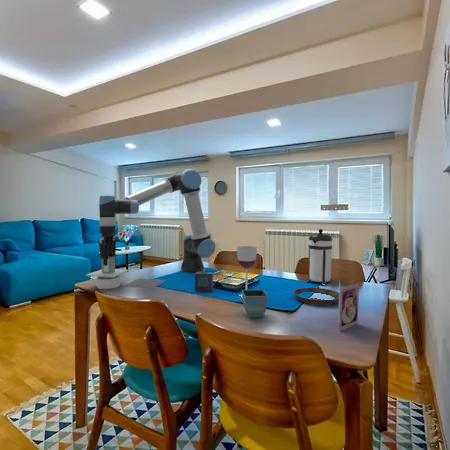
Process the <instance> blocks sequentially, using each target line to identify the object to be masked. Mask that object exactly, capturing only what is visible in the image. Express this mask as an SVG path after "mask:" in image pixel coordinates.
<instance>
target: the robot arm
mask: <svg viewBox="0 0 450 450" xmlns="http://www.w3.org/2000/svg"><path fill="white" fill-rule="evenodd" d="M201 184H202V177H201V175H200V173H199V172H198V171H197V170H196V169H193V168H192V169H191V168H187V169H183V170H179V171H177V172H175V173H173V174H171V175H169V176H167V177H165V178H163V180H162V181H160V182H157V183H155V184H153V185H151V186H148V187H146V188H143V189H141V190H139V191H137V192H134V193H132V194H129V195H128V196H125V197H123V198H120V199H116V196H115V195H109V194H107V195H106V194H105V195H104V194H103V195H100V196H99V200H98V201H99V202H98V207H99V209H98V210H99V211H98V212H99V234H101V238H100V239H98V240H97V242H98V247H99V257H100V259H103V263H104V264H103V265H104V272H109V259H108V256H111V257H115V258H116V253H117V252H116V250H117V239H118V237H116V236H115V235H114V234H115V233H116V226H115V225H116V214H117V215H119V214H121V215H122V214H123V215H125V214H126V215H130V214H131V215H134V214H138V213H139V210H140V206H141V205H143V204H146V203H148V202H150V201H152V200H154V199H157V198H160V197H161V196H163V195H166V194H168V193H170V194H172V193H174V192H177V191H180V194H181V195H182V196H183V197H184V201H185V205H186V210H187V215H188V219H189V223H190V228H191V232H192V234H191V235H184V236H183V259H182V262H181V265H180V271H182V272H184V273H196V272H198V271H199V272H202V271H203V269H205V265H204V262H203V259H204V258H205V259H207V258H210V257H212V256H213V255H214V253H215V252H216V243H215V241H214V240H213V239H211V233H209V232H207V227H206V223H205V217H204V213H203V207H202V204H201V200H200V195H199V194H200V191H201V187H200V186H201ZM202 258H203V259H202Z"/></svg>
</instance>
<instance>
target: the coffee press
mask: <svg viewBox="0 0 450 450" xmlns="http://www.w3.org/2000/svg"><path fill="white" fill-rule="evenodd" d="M332 250H333V237H332V236H331V234H328V233H323V229H322V228H319V229H318V232H317V233H312V234H310V235H309V236H308V263H307V265H308V266H307V268H308V269H307V278H306V280H305V282H306V281H307V282H308V281H310V282H315V283H316V282H318V283H321V284H322V283H323V284H326V283H327V282H329V283H331V282H332V283H333V282H334V281H333V279H332V254H333V253H332V252H333V251H332ZM326 285H327V284H326Z"/></svg>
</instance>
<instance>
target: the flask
mask: <svg viewBox="0 0 450 450" xmlns="http://www.w3.org/2000/svg"><path fill="white" fill-rule="evenodd" d="M194 291H196V292H212V291H214V273H213V272H206V269H205V268H204V269H203V271H198V272H194Z"/></svg>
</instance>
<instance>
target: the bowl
mask: <svg viewBox="0 0 450 450" xmlns="http://www.w3.org/2000/svg"><path fill="white" fill-rule="evenodd" d="M120 279H121V277H120V275H118V276H116V277H98V276H96V288H97V289H100V290H101V289H102V290H103V289H104V290H107V289H109V290H111V289H116V288H118V287H120V286H121V280H120Z"/></svg>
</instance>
